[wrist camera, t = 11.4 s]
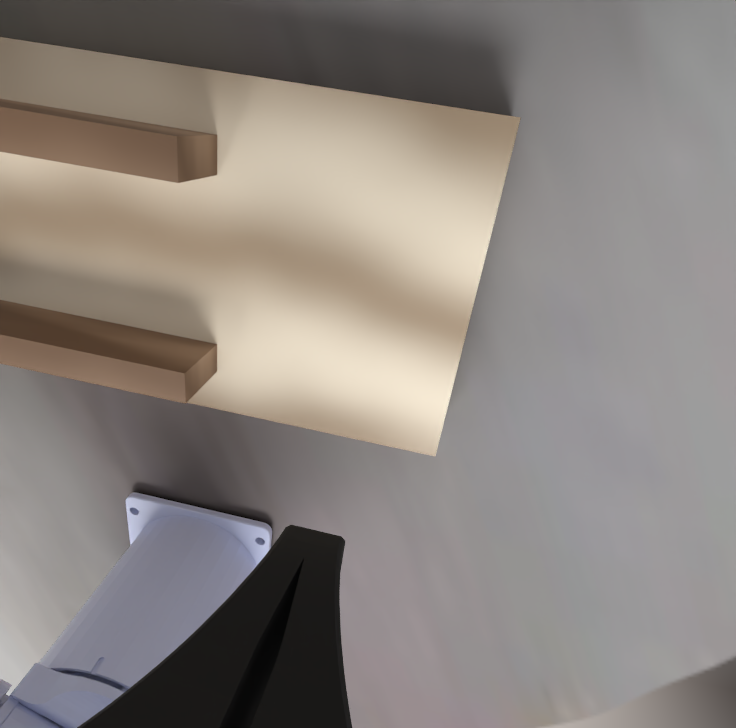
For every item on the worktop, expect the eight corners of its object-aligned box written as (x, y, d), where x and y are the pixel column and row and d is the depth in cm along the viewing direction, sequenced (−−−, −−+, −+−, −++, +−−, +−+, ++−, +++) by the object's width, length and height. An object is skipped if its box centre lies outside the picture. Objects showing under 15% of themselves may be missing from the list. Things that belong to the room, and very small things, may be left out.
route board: (437, 422, 22) (431, 499, 17) (-206, 286, 24) (-354, 323, 20) (512, 118, 16) (532, 116, 12) (-327, -12, 19) (-569, -54, 14)
